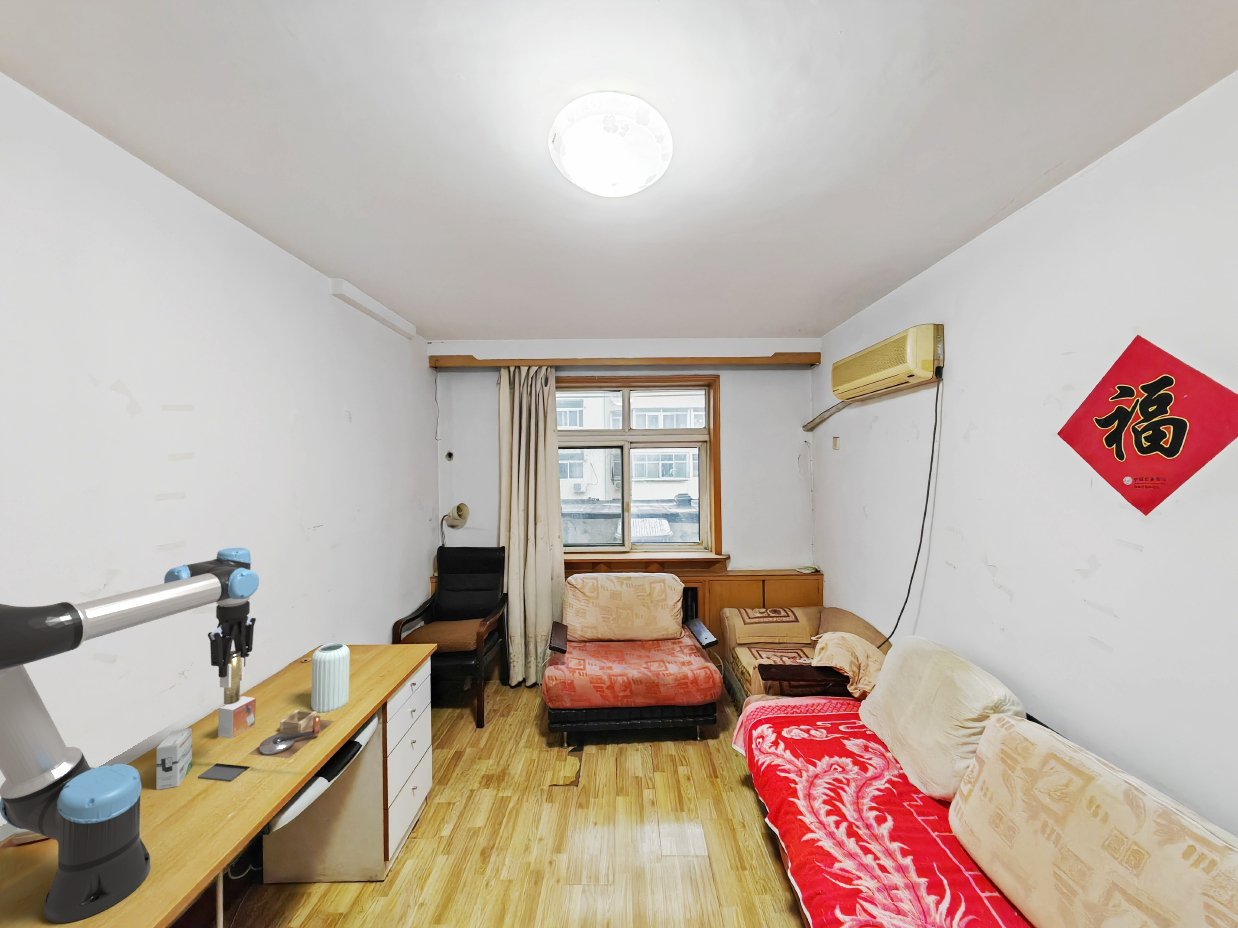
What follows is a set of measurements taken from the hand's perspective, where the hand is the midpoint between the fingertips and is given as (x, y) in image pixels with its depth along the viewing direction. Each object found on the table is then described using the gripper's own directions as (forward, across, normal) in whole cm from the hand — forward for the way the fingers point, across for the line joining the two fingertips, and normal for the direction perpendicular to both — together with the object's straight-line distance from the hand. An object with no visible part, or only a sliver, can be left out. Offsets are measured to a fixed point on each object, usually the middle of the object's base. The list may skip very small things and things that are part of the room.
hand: (232, 683), depth 139 cm
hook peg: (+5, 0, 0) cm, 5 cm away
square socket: (+23, +19, -5) cm, 31 cm away
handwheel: (+23, +11, -10) cm, 27 cm away
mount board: (+25, +14, -8) cm, 30 cm away
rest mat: (+25, 0, 0) cm, 25 cm away
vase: (+25, +34, -6) cm, 43 cm away
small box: (+25, +15, +12) cm, 32 cm away
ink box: (+25, -6, +11) cm, 28 cm away
